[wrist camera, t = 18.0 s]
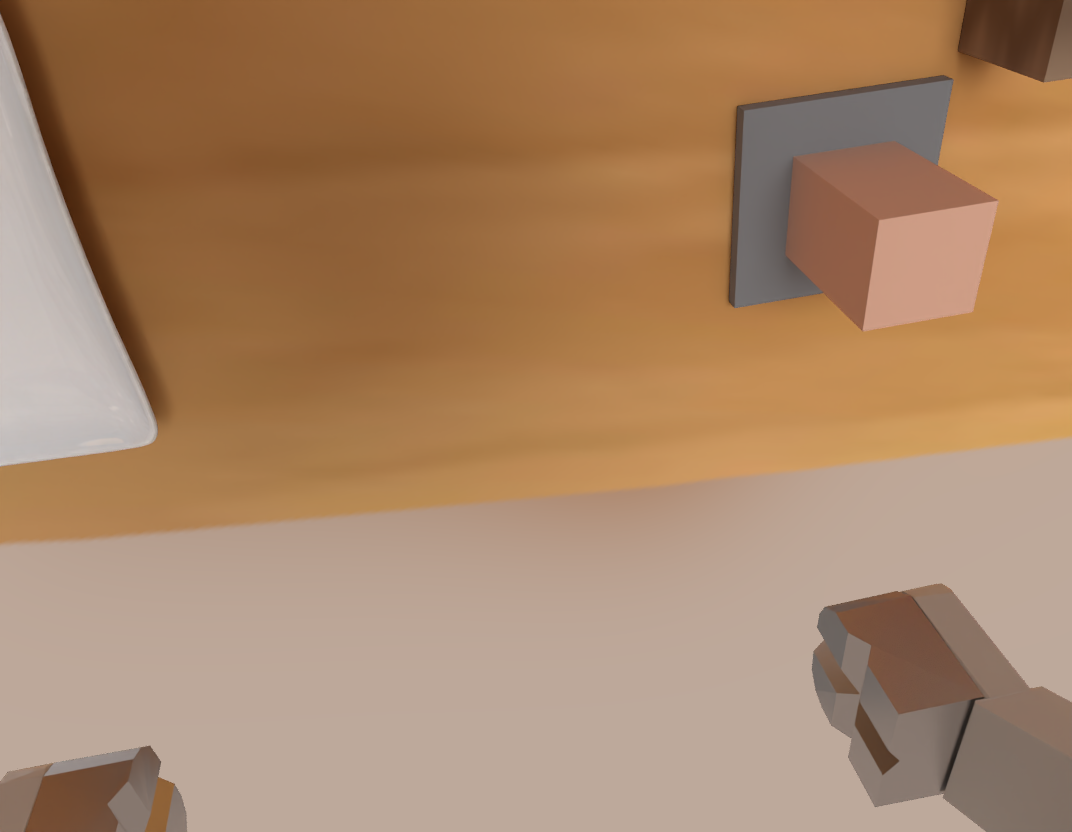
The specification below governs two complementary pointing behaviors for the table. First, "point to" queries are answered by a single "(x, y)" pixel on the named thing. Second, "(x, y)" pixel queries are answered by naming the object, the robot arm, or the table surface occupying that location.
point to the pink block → (888, 233)
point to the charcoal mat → (806, 129)
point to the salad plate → (53, 311)
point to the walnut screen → (1021, 36)
